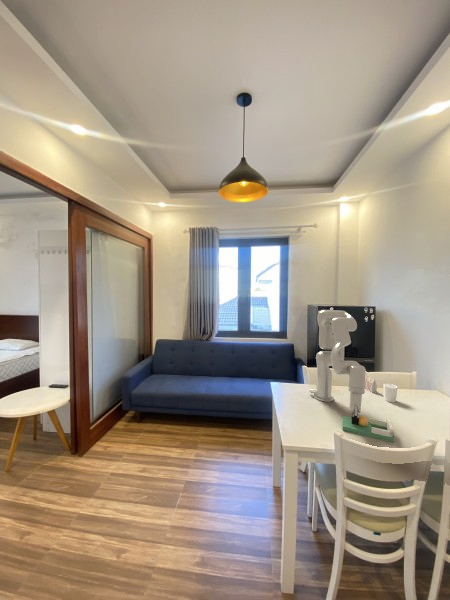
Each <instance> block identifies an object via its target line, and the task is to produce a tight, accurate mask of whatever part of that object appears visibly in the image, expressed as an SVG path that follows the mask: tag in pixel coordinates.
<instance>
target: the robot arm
mask: <svg viewBox="0 0 450 600" xmlns="http://www.w3.org/2000/svg"><path fill="white" fill-rule="evenodd" d="M316 318H317V325H318V346H319V348H320V349H322V350H321V351H319V352H317V353H316V355H315V359H316V388H315V389H312V388H309V393H311V394H313V398H314V399H316V400H318V401H319V402H327V403H329V402H333V401H334V399H335V398H334V396H333V395H332V392H333V391H332V389H333V388H332V387H333V372H334V373H335V374H336V375H341V376H343V375H348V391H349V392H350V395H349V412H351V418H352V424H354V425H359V416H360V415H359V414H360V413H361V411H362V409H361V408H362V399H363V396H362V395H364V394H366V393H365V391H366V389H365V384H366V372H367V370H366V367H365V366H364V365H361V364H360V363H359V362H357V361H355V360H345V347H348V346H349V345H351V344H352V340H351V335H350V332H355V331H356V330H357V328H358V324H357V321H356V319H355V318H354V317H353V315H351V314H349V313H348V312H347V311H345V310H339V309H338V310H337V309H336V310H334V309H326V310H323V309H322V310H320V311H319V312H318V314H317V317H316ZM330 367H332V369H331V368H330ZM332 370H333V372H332Z"/></svg>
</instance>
